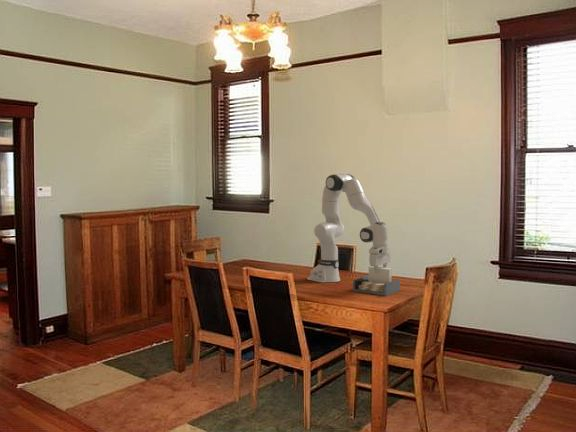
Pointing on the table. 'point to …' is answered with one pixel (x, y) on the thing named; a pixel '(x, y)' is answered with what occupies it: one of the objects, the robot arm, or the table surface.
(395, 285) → the rack
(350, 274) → the table surface
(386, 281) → the cream slab
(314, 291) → the table surface
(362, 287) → the offcut stack
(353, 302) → the table surface
